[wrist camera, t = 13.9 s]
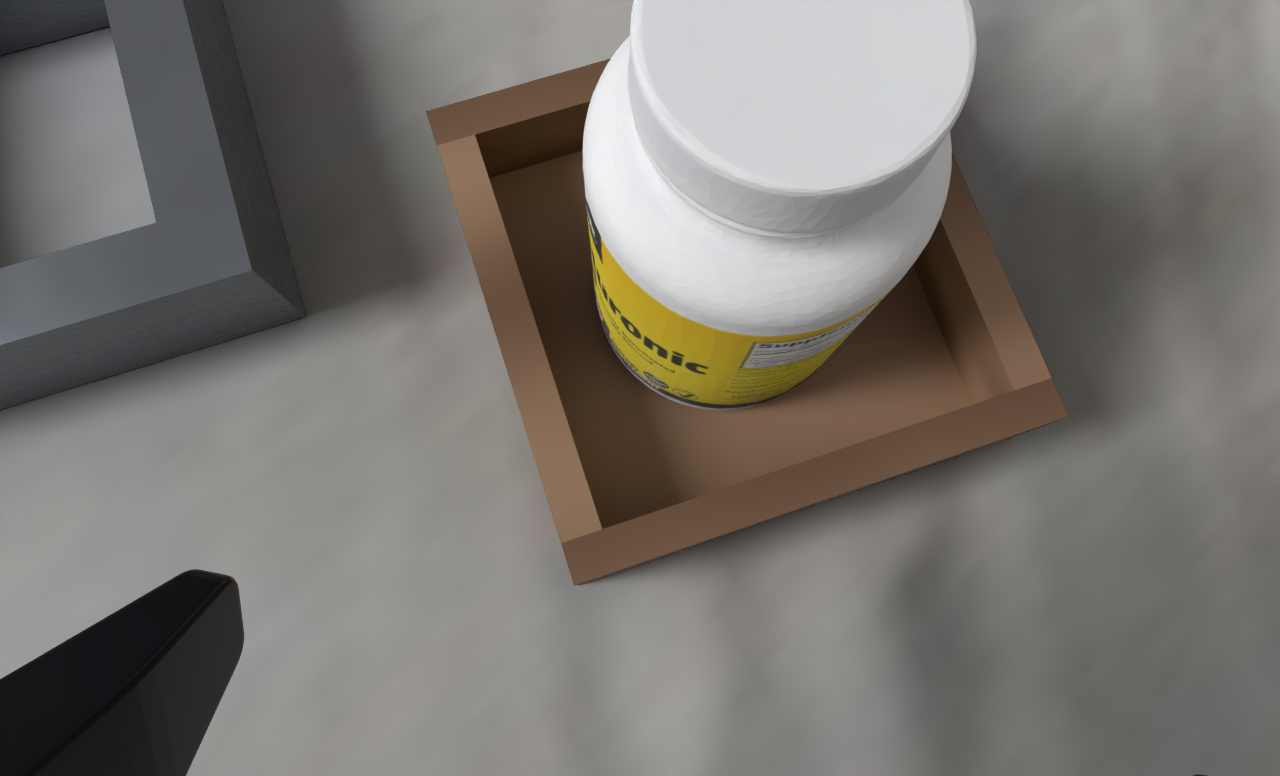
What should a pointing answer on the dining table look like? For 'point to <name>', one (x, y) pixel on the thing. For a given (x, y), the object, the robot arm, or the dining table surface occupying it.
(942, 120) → the supplement bottle
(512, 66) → the dining table surface
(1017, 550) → the dining table surface
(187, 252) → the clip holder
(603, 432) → the walnut tray
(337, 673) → the dining table surface
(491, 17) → the dining table surface
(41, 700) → the robot arm
